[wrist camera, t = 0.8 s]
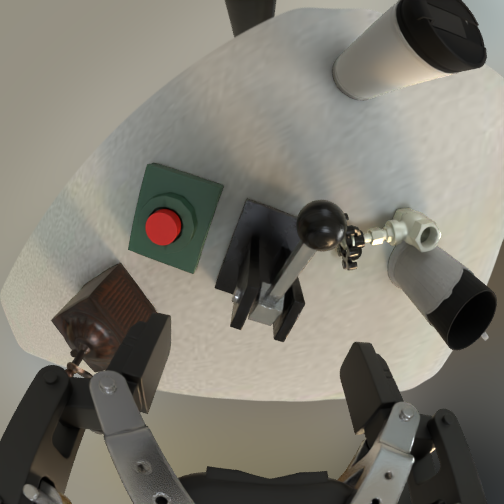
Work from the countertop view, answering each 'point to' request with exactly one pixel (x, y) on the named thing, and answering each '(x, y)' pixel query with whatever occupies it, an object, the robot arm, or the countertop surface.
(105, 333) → the brown coffee grinder
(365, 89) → the travel mug
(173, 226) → the button
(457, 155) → the countertop surface
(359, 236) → the valve
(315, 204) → the lever
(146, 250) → the button block
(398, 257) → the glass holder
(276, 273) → the bracket
